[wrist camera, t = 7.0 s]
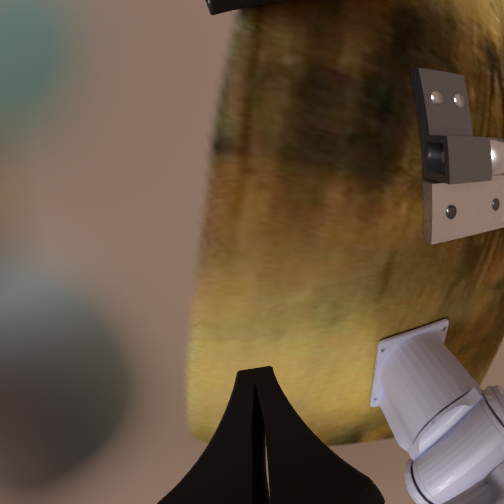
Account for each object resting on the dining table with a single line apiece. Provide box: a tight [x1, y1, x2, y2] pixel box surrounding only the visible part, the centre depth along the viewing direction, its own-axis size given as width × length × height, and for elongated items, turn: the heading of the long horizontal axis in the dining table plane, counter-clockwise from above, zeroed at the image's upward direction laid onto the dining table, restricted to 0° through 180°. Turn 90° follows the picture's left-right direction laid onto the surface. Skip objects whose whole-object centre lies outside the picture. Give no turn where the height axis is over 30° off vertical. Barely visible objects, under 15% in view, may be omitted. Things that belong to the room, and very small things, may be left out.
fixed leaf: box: [423, 136, 504, 245], centre depth 17 cm, size 8×10×3 cm
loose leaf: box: [410, 68, 492, 185], centre depth 15 cm, size 8×5×3 cm, turn 10°
